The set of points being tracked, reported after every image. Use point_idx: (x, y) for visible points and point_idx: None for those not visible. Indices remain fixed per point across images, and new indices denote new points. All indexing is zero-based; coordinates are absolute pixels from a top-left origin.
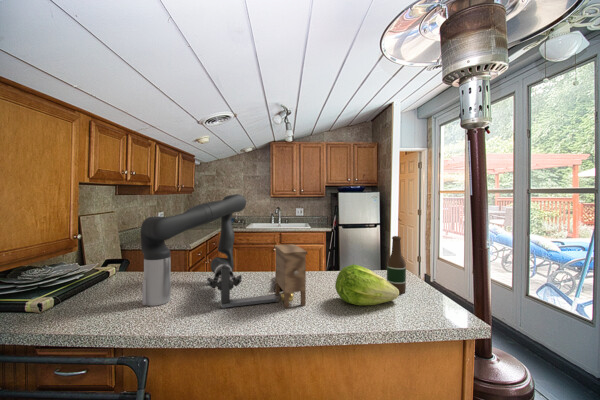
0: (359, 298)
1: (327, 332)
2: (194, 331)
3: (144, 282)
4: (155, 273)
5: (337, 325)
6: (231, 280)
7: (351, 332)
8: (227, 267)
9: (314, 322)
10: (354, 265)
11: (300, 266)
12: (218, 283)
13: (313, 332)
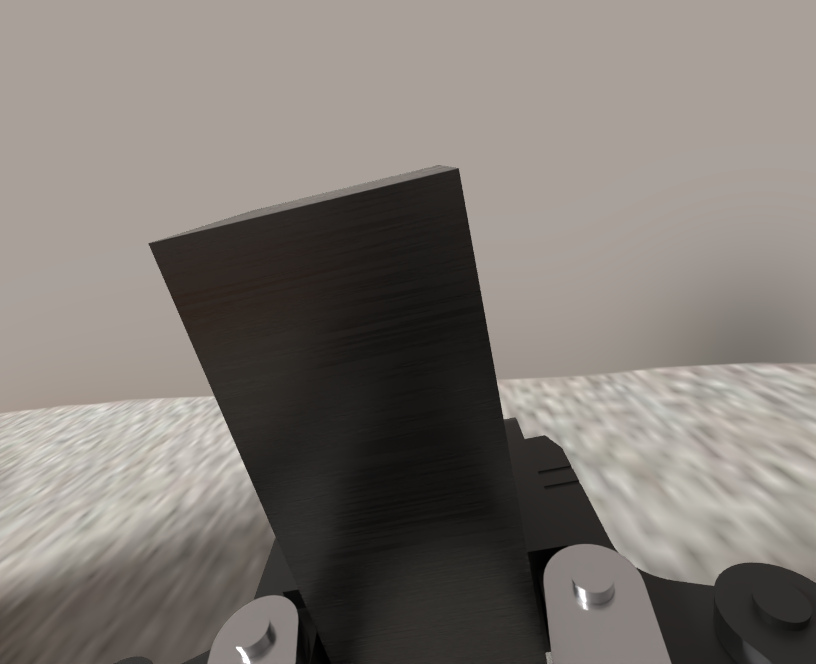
0: None
1: (125, 403)
2: (618, 391)
3: None
4: None
5: (50, 434)
6: (263, 607)
7: (72, 405)
8: (250, 216)
9: (84, 451)
10: None
11: None
12: (582, 540)
13: (159, 402)
